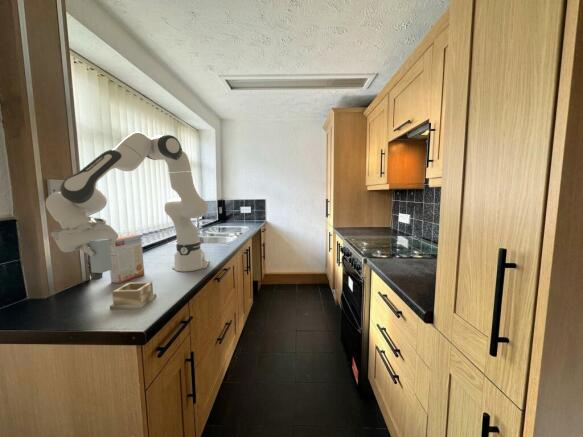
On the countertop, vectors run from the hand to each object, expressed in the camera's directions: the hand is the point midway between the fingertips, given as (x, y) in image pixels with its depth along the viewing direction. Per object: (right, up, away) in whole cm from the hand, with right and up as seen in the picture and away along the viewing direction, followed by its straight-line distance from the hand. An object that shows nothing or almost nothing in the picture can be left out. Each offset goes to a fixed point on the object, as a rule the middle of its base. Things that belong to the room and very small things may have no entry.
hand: (101, 253), depth 97 cm
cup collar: (+12, -19, +1) cm, 22 cm away
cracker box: (-9, -17, +30) cm, 35 cm away
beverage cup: (-26, -17, +32) cm, 44 cm away
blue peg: (-1, -7, +1) cm, 7 cm away
